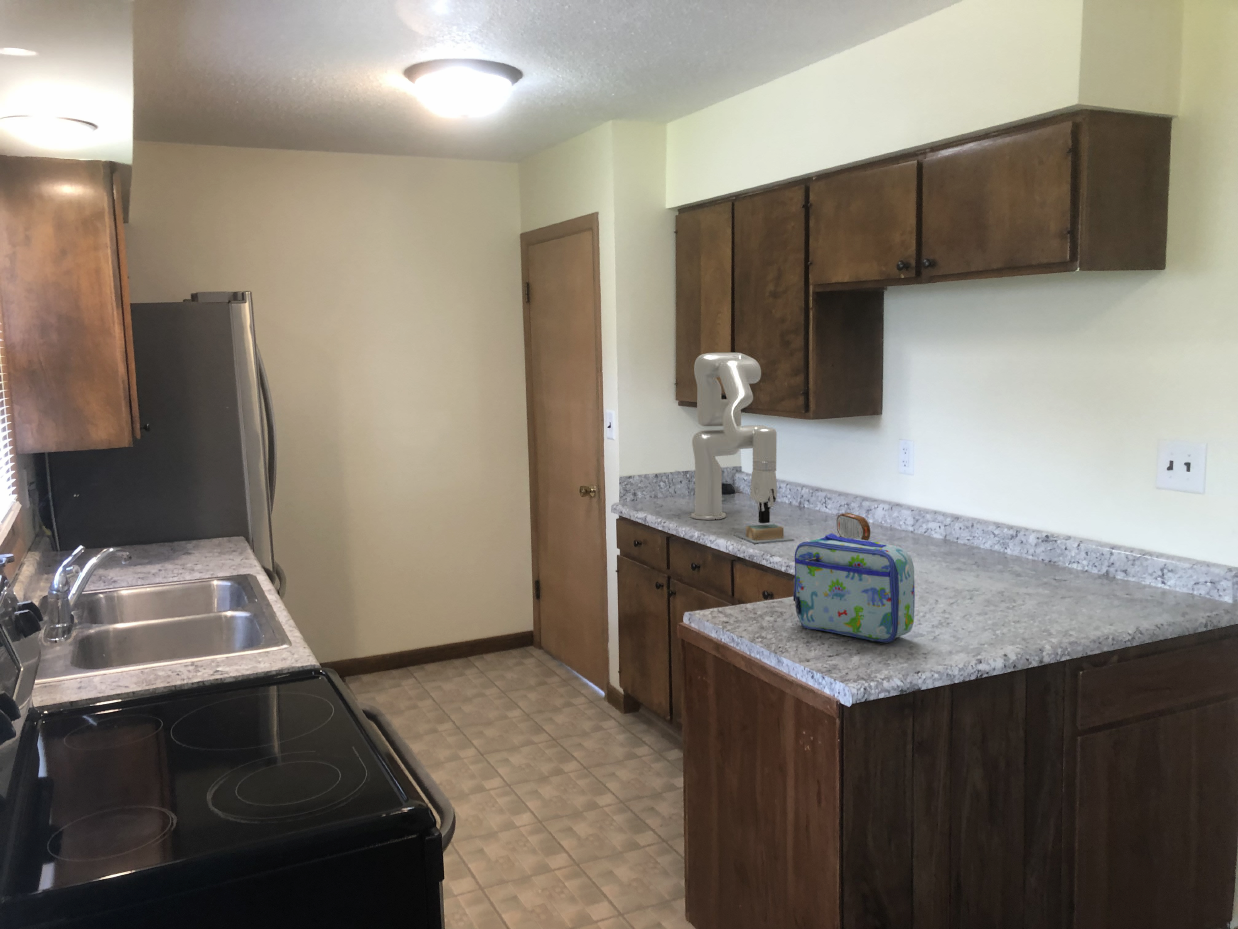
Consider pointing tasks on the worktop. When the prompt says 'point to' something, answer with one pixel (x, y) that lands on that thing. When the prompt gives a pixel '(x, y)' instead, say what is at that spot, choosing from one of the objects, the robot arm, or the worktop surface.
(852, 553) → the lunch box
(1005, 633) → the worktop surface
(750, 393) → the robot arm
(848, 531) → the tin
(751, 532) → the block
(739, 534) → the mat
